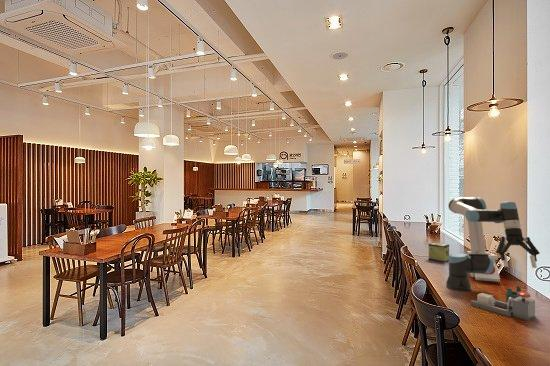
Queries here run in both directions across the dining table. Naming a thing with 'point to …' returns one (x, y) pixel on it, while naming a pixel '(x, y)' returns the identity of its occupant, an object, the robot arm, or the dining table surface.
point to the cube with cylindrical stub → (486, 299)
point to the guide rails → (493, 307)
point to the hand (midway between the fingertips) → (520, 267)
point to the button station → (522, 306)
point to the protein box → (439, 252)
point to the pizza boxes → (491, 276)
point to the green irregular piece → (512, 293)
